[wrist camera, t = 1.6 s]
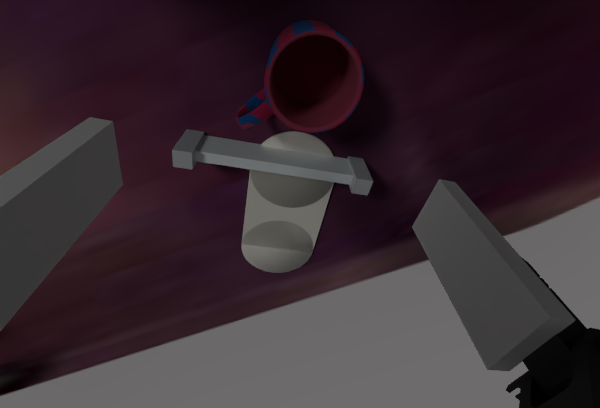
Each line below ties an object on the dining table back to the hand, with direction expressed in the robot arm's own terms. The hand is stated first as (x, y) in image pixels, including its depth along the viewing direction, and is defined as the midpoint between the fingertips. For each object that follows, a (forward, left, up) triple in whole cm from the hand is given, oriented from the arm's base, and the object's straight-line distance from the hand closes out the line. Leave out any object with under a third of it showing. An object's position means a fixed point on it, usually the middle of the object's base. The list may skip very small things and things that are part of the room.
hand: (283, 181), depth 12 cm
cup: (-1, 0, -17) cm, 17 cm away
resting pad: (+14, +2, -17) cm, 22 cm away
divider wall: (+7, 0, -17) cm, 18 cm away
